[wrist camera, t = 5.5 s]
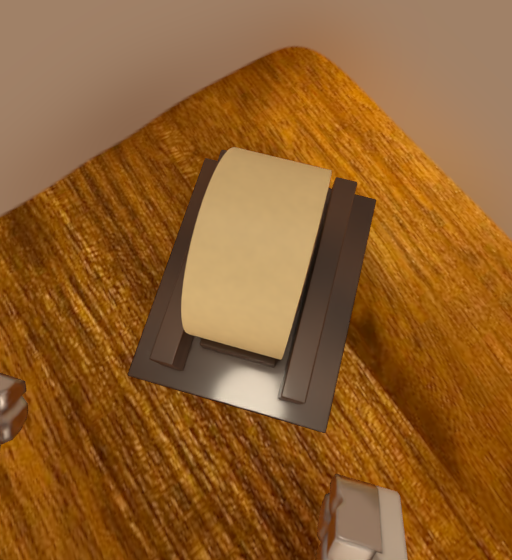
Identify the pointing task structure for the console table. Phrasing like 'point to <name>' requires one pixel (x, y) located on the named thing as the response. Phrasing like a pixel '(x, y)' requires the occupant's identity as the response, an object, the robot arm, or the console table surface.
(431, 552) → the console table surface
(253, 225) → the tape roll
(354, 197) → the tape holder
